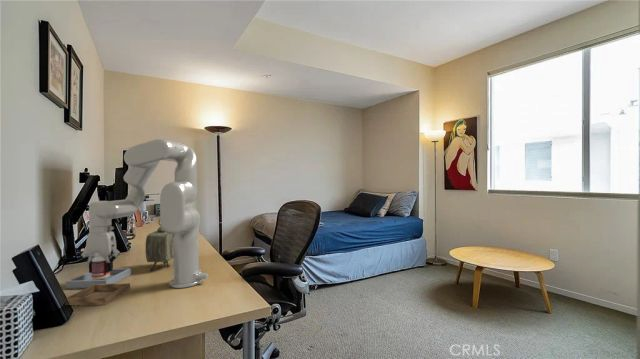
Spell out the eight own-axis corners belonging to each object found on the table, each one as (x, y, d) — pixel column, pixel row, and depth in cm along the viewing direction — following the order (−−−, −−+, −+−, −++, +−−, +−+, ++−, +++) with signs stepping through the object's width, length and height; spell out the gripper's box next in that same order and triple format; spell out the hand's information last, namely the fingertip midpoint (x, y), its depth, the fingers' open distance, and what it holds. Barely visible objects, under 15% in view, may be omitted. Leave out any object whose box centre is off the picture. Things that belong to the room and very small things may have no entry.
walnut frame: (130, 289, 110) (130, 283, 110) (105, 304, 97) (105, 297, 97) (94, 290, 110) (94, 284, 110) (64, 305, 96) (64, 298, 96)
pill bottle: (109, 277, 119) (109, 252, 119) (90, 281, 115) (90, 254, 116) (110, 274, 124) (110, 249, 124) (92, 276, 121) (92, 251, 121)
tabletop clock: (163, 262, 147) (163, 215, 147) (180, 262, 147) (180, 215, 147) (145, 271, 132) (145, 219, 133) (164, 271, 132) (163, 219, 132)
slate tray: (130, 275, 128) (130, 268, 128) (106, 288, 112) (106, 280, 112) (95, 275, 127) (95, 269, 127) (66, 289, 112) (66, 281, 112)
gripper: (126, 227, 124) (127, 268, 124) (86, 228, 123) (87, 269, 123) (115, 230, 117) (115, 273, 116) (72, 231, 116) (72, 275, 116)
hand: (101, 271), depth 120 cm, fingers closed on pill bottle, 6 cm apart
